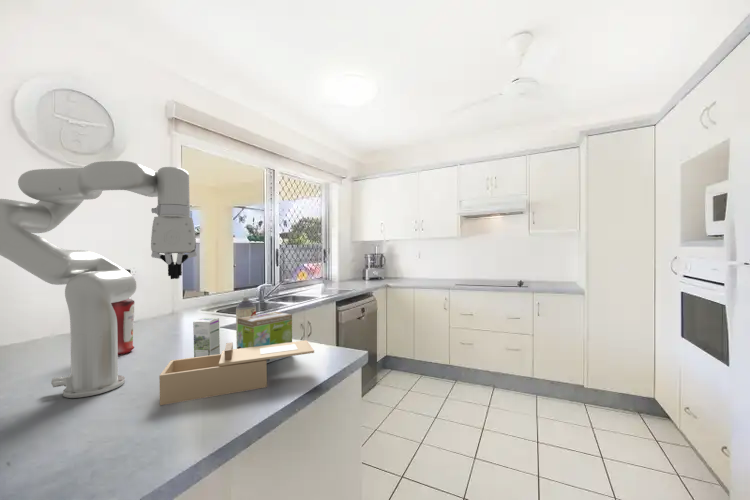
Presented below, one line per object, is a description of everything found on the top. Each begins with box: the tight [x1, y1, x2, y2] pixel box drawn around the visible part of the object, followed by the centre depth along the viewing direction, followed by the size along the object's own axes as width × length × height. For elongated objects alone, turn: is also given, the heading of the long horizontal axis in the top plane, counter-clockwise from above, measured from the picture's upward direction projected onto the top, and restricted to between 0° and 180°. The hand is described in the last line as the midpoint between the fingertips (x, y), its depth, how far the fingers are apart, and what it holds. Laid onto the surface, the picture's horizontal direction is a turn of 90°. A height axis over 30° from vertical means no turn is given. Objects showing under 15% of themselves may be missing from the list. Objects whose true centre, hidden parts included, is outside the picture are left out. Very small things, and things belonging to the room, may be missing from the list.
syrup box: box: [192, 317, 221, 357], centre depth 104 cm, size 6×6×14 cm
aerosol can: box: [235, 296, 257, 340], centre depth 116 cm, size 7×7×20 cm
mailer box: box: [159, 353, 268, 406], centre depth 85 cm, size 24×12×7 cm, turn 112°
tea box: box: [236, 311, 293, 364], centre depth 107 cm, size 15×10×15 cm
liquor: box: [111, 297, 135, 356], centre depth 118 cm, size 7×7×28 cm
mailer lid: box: [219, 339, 315, 366], centre depth 90 cm, size 24×12×3 cm, turn 112°
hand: (175, 278), depth 88 cm, fingers closed
